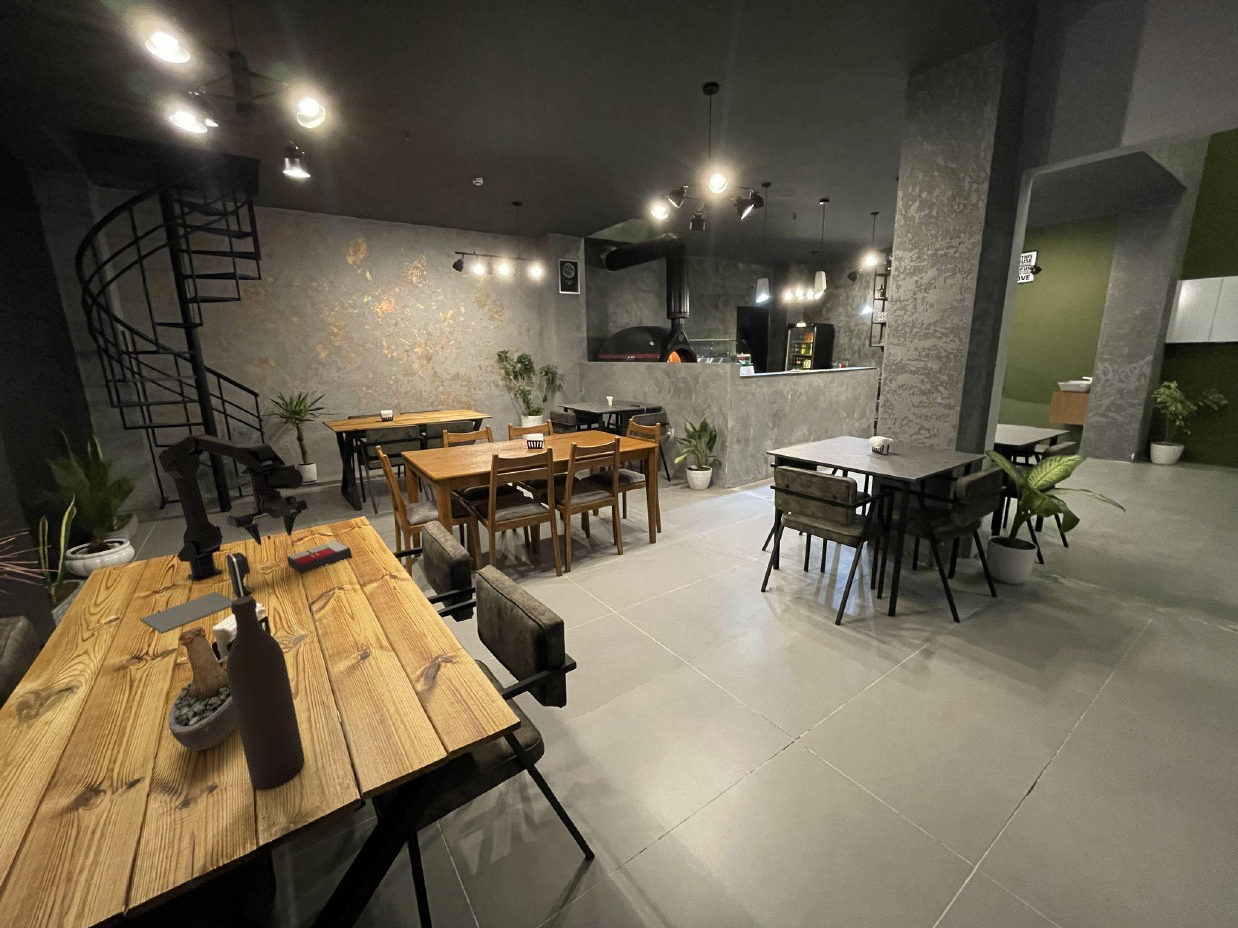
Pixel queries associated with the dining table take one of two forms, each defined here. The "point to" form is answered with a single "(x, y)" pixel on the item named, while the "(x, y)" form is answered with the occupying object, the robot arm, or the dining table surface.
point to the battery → (238, 573)
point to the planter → (203, 698)
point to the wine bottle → (263, 701)
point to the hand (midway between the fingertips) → (274, 539)
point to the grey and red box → (319, 556)
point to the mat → (187, 612)
